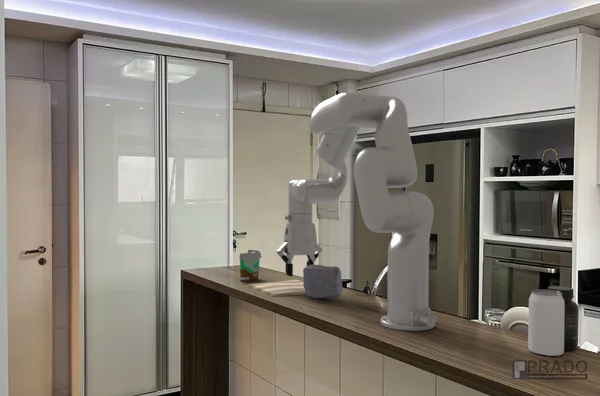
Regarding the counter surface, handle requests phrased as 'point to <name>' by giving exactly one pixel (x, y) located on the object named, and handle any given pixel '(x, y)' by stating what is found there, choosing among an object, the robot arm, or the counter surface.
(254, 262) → the food container
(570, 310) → the supplement bottle
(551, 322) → the can
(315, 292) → the stone block
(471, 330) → the counter surface
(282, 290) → the striped cloth
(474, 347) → the counter surface
